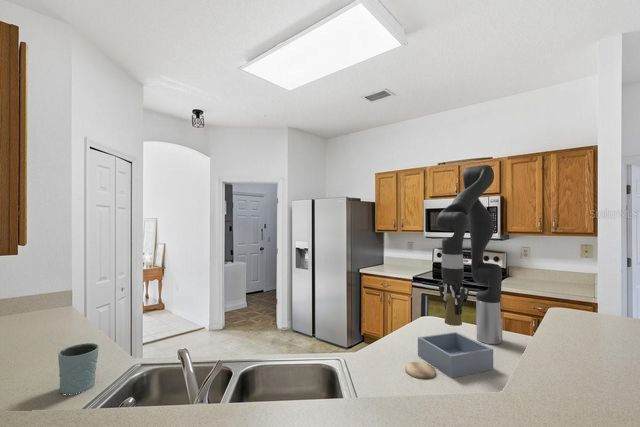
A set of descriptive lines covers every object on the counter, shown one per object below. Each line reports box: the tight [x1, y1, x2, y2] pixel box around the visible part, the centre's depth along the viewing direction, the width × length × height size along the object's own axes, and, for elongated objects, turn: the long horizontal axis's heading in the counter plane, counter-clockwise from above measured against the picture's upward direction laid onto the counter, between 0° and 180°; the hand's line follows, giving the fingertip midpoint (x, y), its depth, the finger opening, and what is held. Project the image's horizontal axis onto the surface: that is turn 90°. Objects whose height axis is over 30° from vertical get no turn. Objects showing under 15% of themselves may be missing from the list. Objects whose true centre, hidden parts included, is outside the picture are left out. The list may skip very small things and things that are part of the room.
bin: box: [417, 331, 494, 379], centre depth 116 cm, size 18×18×7 cm
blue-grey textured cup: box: [57, 342, 100, 395], centre depth 99 cm, size 10×10×12 cm
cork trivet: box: [404, 361, 437, 380], centre depth 109 cm, size 10×10×1 cm
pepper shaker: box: [444, 293, 463, 327], centre depth 117 cm, size 6×6×11 cm
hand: (453, 312), depth 117 cm, fingers closed on pepper shaker, 4 cm apart
